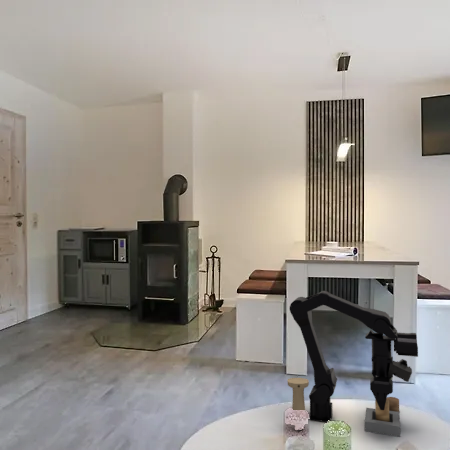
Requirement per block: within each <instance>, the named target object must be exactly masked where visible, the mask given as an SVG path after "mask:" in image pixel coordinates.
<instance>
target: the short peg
mask: <svg viewBox="0 0 450 450" xmlns="http://www.w3.org/2000/svg"><path fill="white" fill-rule="evenodd" d="M387 400H389V411H395V412H400V399H399V398H397V397H396V396H395V397H394V396H387Z"/></svg>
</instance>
